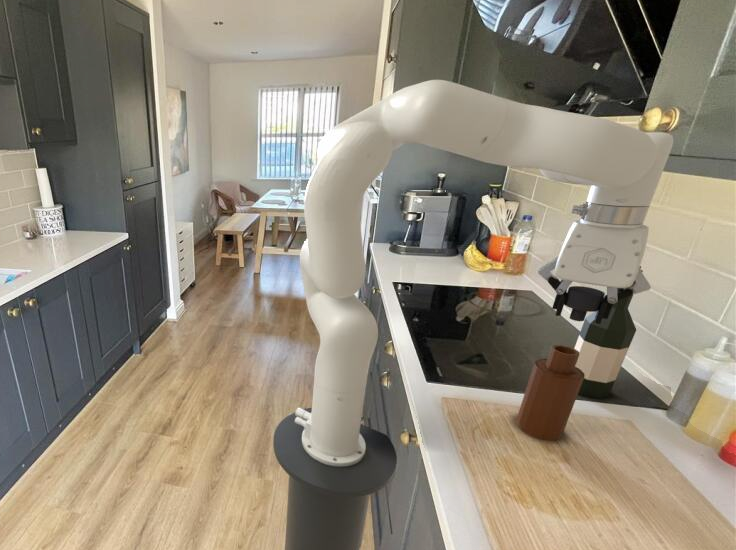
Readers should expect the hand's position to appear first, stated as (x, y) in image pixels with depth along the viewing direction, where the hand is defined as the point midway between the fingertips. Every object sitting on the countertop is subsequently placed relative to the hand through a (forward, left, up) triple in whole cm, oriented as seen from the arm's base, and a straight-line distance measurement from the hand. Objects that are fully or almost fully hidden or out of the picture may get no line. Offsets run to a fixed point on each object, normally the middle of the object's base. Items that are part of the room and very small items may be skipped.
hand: (577, 316), depth 71 cm
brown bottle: (0, 0, -25) cm, 25 cm away
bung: (0, 0, -1) cm, 1 cm away
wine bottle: (+7, +24, -25) cm, 35 cm away
